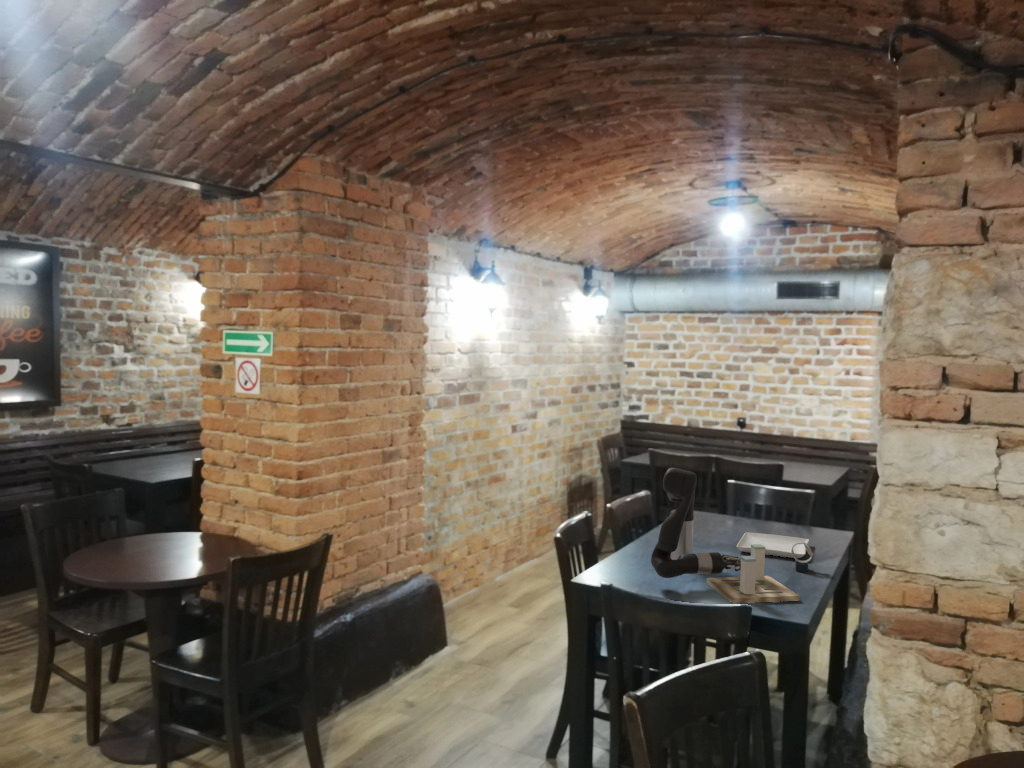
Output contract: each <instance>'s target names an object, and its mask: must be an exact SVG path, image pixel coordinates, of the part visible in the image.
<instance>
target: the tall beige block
mask: <svg viewBox="0 0 1024 768" xmlns="http://www.w3.org/2000/svg"><path fill="white" fill-rule="evenodd" d="M750 556H752V557H754V558H755V559H756V566H755V580H765V577H764V576H765V562H766V555H765V547H764V546H763V545H761V544H752V545H751V553H750Z"/></svg>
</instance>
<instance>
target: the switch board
mask: <svg viewBox="0 0 1024 768" xmlns="http://www.w3.org/2000/svg"><path fill="white" fill-rule="evenodd" d="M764 577H765V580H755V594H744V593H742V592H741V591H740V590H739V587H740V576H720V577H719V576H717V577H706V584H707V585H708V586H710V588H712V589H713V590H714V591H715V592H716V593H718V592H719V593H720V594H719V593H718V594H719V595H720V596H722V595H723V596H724V597H725V599H726V598H727V599H728V600H729V601H731V602H732V603H748V602H751V603H750V604H756V603H755V602H773V603H784V602H783V601H799V602H800V595H799V594H798V593H796V592H794V591H793V590H792V589H789V588H788V587H787V586H785V585H784V584H782V583H780V582H779V581H777V580H776V579H774V578H773V577H771V576H770V575H764ZM723 596H722V597H723ZM724 597H723V598H724ZM727 599H726V600H727ZM728 600H727V601H728ZM729 601H728V602H729ZM780 601H781V602H780ZM731 602H730V603H731ZM732 603H731V604H732ZM748 604H749V603H748Z"/></svg>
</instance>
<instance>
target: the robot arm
mask: <svg viewBox="0 0 1024 768" xmlns="http://www.w3.org/2000/svg"><path fill="white" fill-rule="evenodd" d="M697 482H698V479H697V473H695V472H693V471H690V470H687V469H682V468H677V467H669V468H668V469H667V470H666V472H665V473H664V476H663V480H662V488H663V491H664V492H665V493H666V495H667V498H668V500H669V501H670V502H673V503H674V502H675V503H680V504H679V506H677V508H676V509H672V510H671V511H670V512H669V515H668V516H667V517H666V518H665V519H664V521H663V522H662V524H661V526H660V531H659V534H658V540H657V543H656V545H655V547H654V548H653V551H652V552H651V557H650V558H651V559H650V561H651V565H652V567H653V569H654V570H655V572H656V574H657V575H658V576H659V577H661V578H665V579H671V578H676V577H679V576H683V575H689V574H690V575H693V574H694V575H695V574H697V575H698V574H699V575H718V574H719V575H720V574H721V573H723V570H724V569H725V570H726V571H727V570H728V571H730V570H734V571H735V572H739V571H741V557H739V556H733V555H727V554H722V553H720V552H716V551H715V552H713V551H712V552H697V553H693V552H694V551H693V545H694V519H695V518H694V517H695V514H694V511H695V510H694V509H695V506H694V505H695V497H696V487H697Z"/></svg>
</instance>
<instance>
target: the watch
mask: <svg viewBox="0 0 1024 768" xmlns="http://www.w3.org/2000/svg"><path fill="white" fill-rule="evenodd" d="M797 544H804V546H805V548H806V553H808V555H809V558H807V559H806V560H802V559H799V558H797V557H796V556H795V554H794V551H793V548H794V546H795V545H797ZM791 551H792V555H793V557H794V558H793V559H794V560H795V562H794V563H795V564H794V568H795V569H796V570H795V572H796V571H797V573H805V572H808V573H809V563H808V562H811V560H812V559H813V556H814V552H813V550H812V548H811V546H810V544H809V542H808V543H805V542H802V541H800V542H796V543H795V544H793V546H792V550H791Z"/></svg>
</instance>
